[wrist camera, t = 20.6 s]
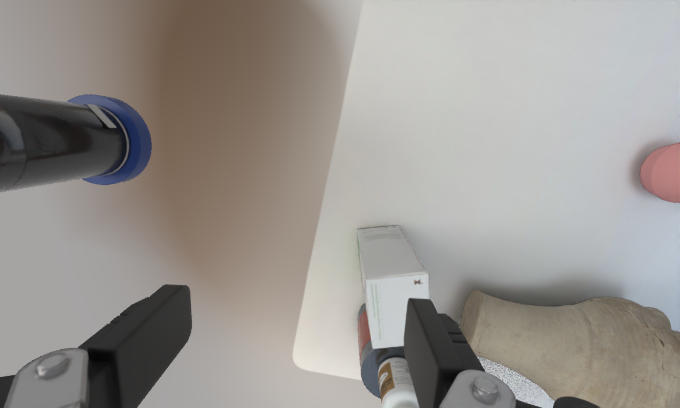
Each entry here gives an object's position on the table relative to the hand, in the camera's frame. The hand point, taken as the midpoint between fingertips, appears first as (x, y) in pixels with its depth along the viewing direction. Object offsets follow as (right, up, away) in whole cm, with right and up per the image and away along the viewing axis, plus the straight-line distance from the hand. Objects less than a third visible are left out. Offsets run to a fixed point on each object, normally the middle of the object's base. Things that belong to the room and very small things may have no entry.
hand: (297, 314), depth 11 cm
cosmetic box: (+8, -3, +35) cm, 36 cm away
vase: (+30, -12, +36) cm, 49 cm away
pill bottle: (+8, -16, +26) cm, 32 cm away
